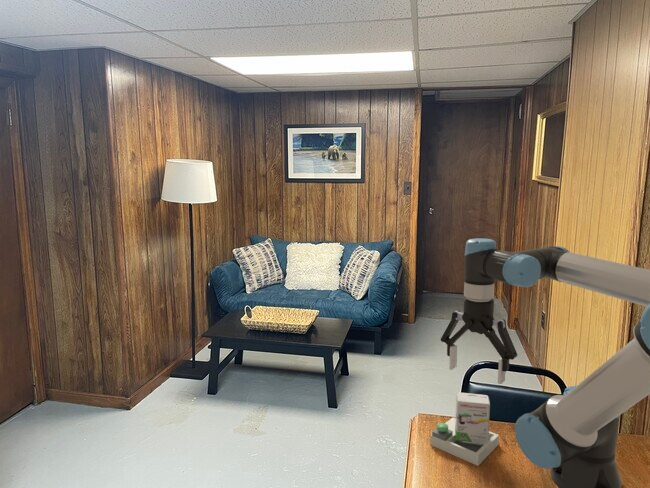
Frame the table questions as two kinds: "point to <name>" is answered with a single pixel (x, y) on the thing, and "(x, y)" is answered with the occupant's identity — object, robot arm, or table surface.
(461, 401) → the ink box
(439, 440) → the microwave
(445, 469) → the table surface
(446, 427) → the button
